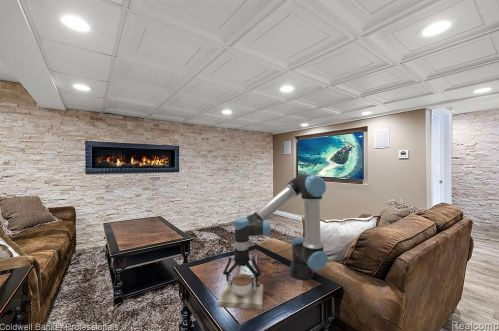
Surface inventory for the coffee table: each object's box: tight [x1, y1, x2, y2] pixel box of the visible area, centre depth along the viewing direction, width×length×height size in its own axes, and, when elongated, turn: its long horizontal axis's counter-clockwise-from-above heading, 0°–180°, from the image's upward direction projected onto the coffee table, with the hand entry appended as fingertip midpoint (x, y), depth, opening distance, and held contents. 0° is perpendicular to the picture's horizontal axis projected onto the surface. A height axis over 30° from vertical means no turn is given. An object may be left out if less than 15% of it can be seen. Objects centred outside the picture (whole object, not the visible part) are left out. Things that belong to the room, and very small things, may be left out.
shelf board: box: [217, 279, 264, 310], centre depth 120 cm, size 22×18×4 cm
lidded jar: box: [231, 273, 253, 296], centre depth 120 cm, size 11×11×9 cm
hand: (242, 287), depth 120 cm, fingers open, 13 cm apart
